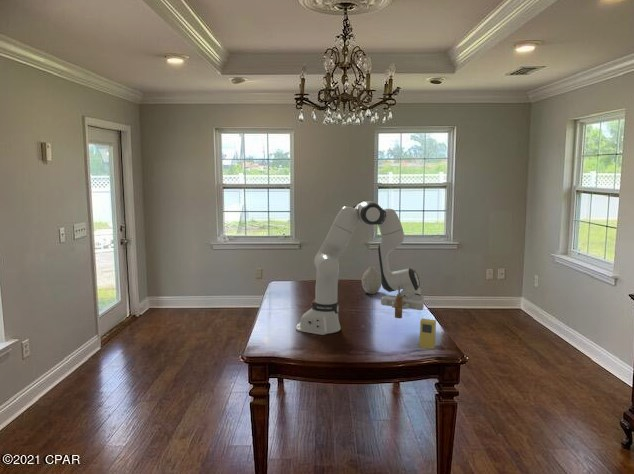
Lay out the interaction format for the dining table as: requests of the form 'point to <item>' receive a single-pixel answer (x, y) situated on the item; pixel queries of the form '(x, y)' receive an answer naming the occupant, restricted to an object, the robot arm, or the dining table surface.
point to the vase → (371, 280)
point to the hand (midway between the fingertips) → (398, 306)
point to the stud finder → (427, 333)
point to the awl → (398, 305)
